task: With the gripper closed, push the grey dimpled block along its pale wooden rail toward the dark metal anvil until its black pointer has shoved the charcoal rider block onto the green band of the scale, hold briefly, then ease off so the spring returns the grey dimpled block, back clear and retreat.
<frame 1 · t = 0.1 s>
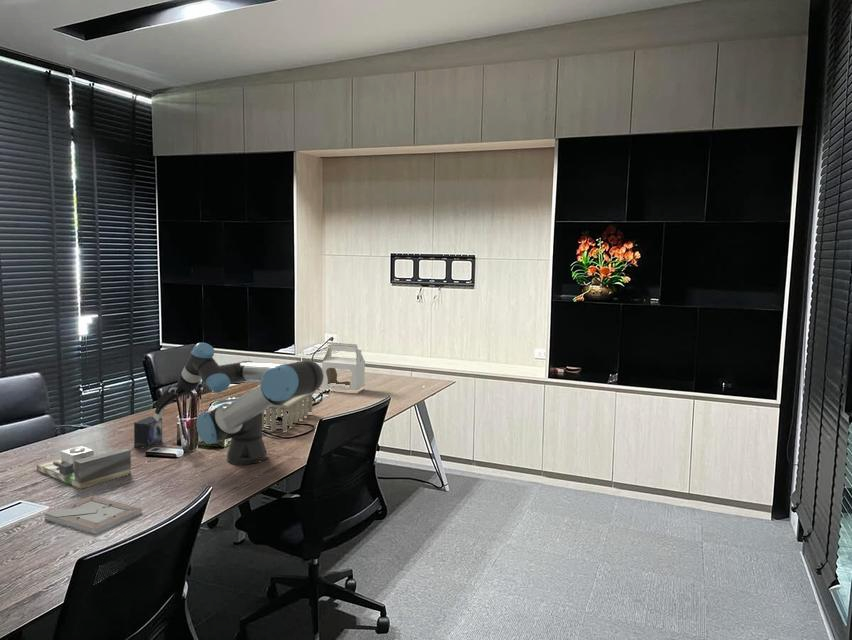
hand: (171, 415, 252), 15 cm above the table, tool tilted 35°, fingers open, 13 cm apart
architectural model: (286, 422, 303), on the table
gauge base: (83, 472, 229), on the table
max marker: (65, 473, 222), point 2 cm above the table, touching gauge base
grey dimpled block: (70, 458, 229), point 5 cm above the table, slide at 0.0 cm
picture frame: (94, 518, 193), on the table
small box: (148, 445, 263), on the table
gable box: (343, 390, 373), on the table
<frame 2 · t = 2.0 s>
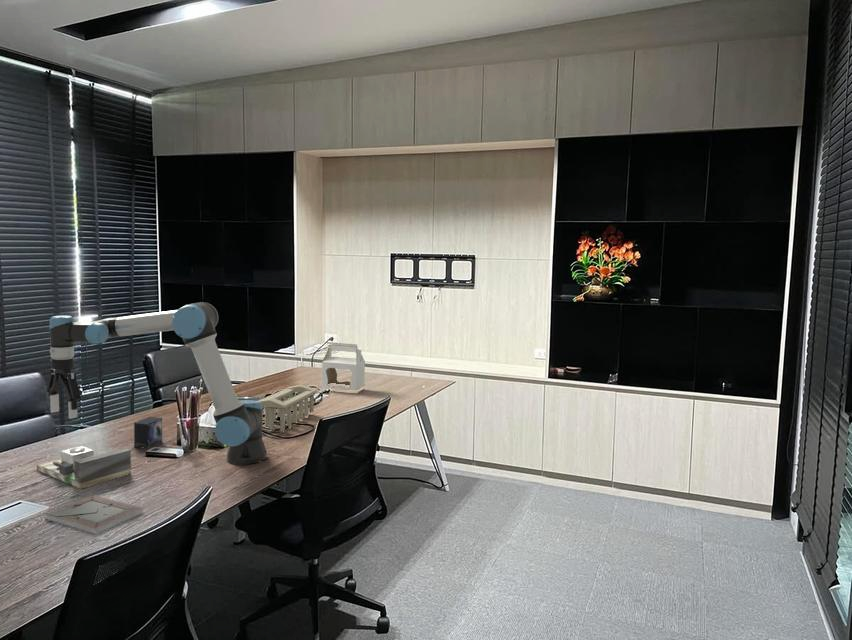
hand: (63, 414, 235), 19 cm above the table, tool pointing down, fingers open, 12 cm apart
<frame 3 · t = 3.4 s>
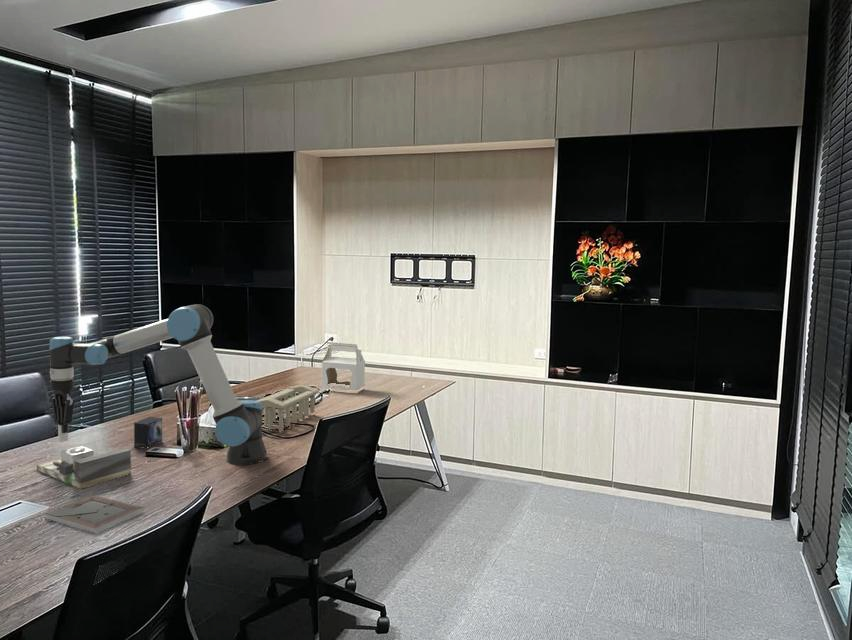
hand: (63, 440, 235), 9 cm above the table, tool pointing down, fingers closed
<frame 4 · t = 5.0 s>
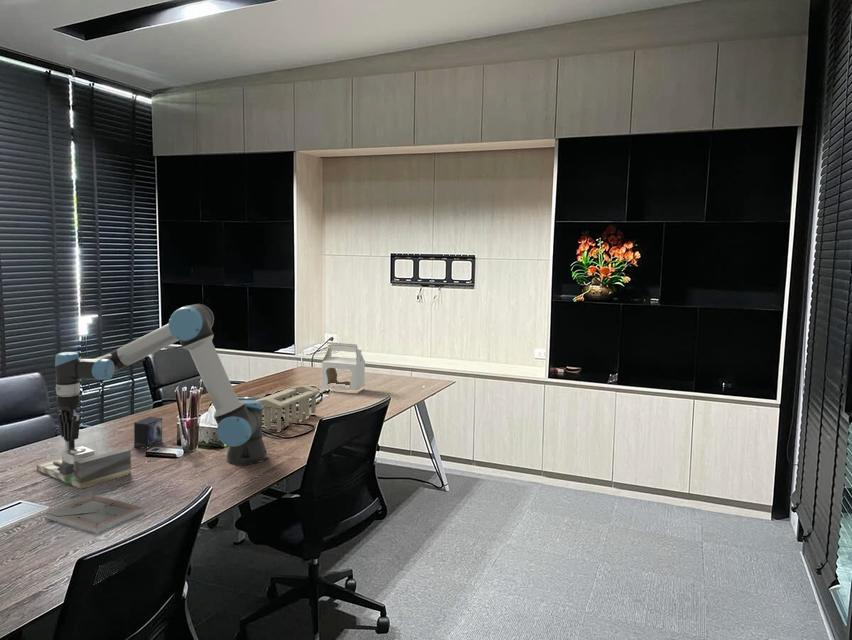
hand: (70, 456, 234), 4 cm above the table, tool pointing down, fingers closed
max marker: (66, 473, 222), point 2 cm above the table
grey dimpled block: (71, 458, 229), point 5 cm above the table, slide at 0.6 cm, touching gripper
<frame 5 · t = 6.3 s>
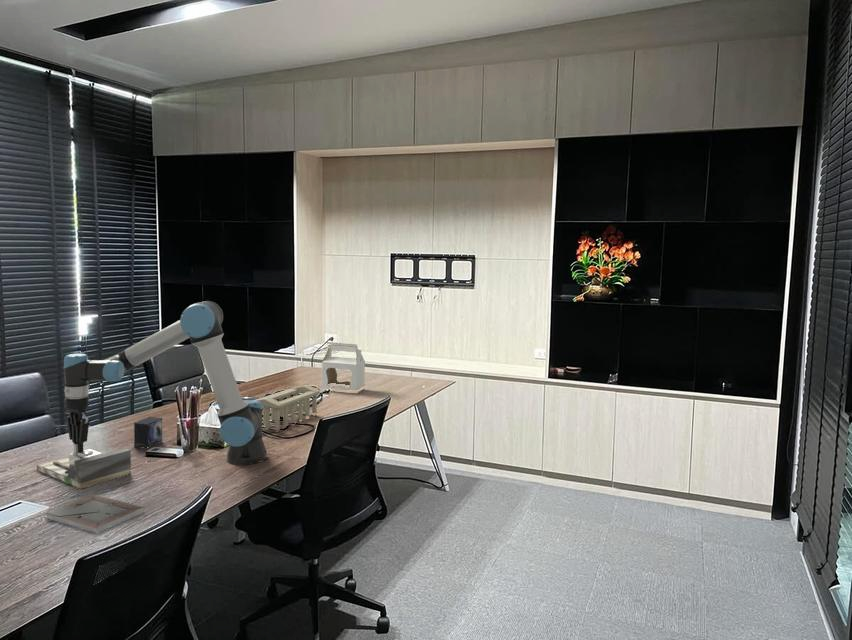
hand: (78, 459, 231), 4 cm above the table, tool pointing down, fingers closed
max marker: (74, 476, 218), point 2 cm above the table, touching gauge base
grey dimpled block: (78, 461, 226), point 5 cm above the table, slide at 5.5 cm, touching gripper
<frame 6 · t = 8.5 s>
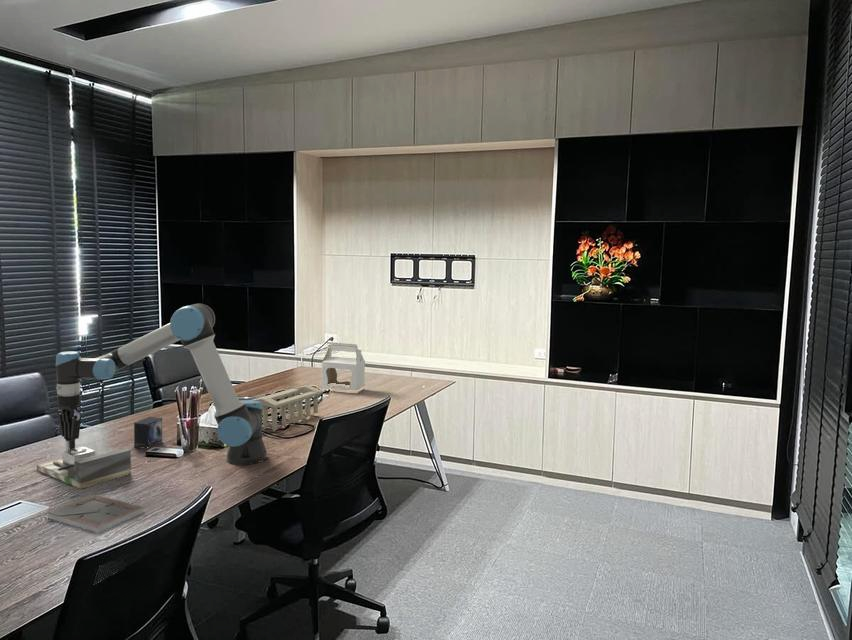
hand: (70, 456, 233), 4 cm above the table, tool pointing down, fingers closed
grey dimpled block: (71, 459, 228), point 5 cm above the table, slide at 1.1 cm
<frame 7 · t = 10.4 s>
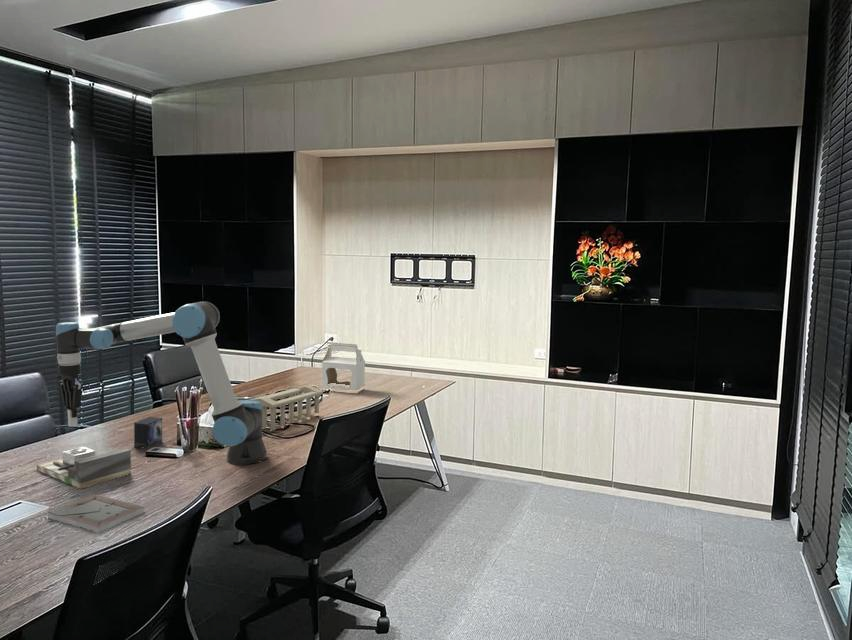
hand: (73, 425, 238), 14 cm above the table, tool pointing down, fingers closed
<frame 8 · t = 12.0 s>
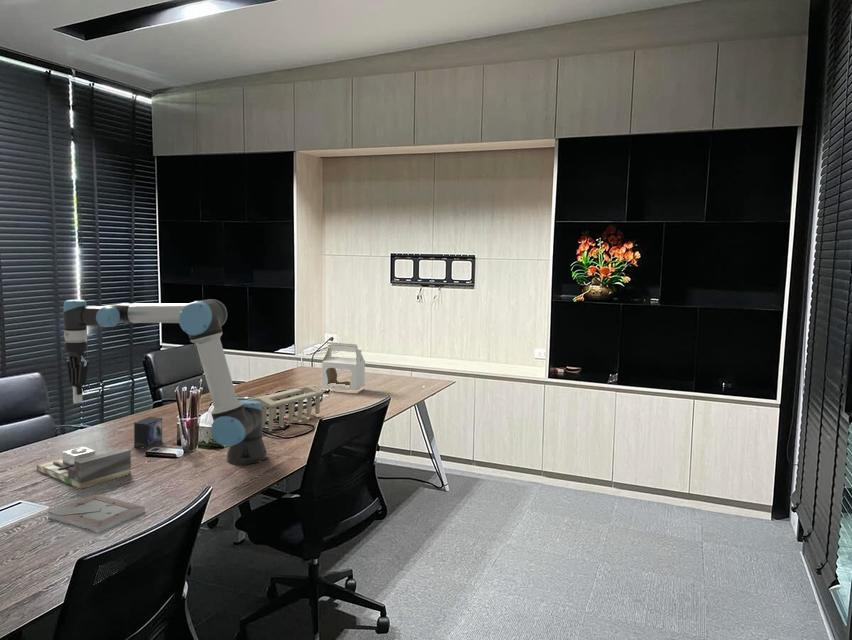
hand: (77, 402, 239), 22 cm above the table, tool pointing down, fingers closed
at the end: max marker 0.4 cm from the target spot on the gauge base, point 2.3 cm above the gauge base's base; grey dimpled block slide at 1.1 cm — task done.
